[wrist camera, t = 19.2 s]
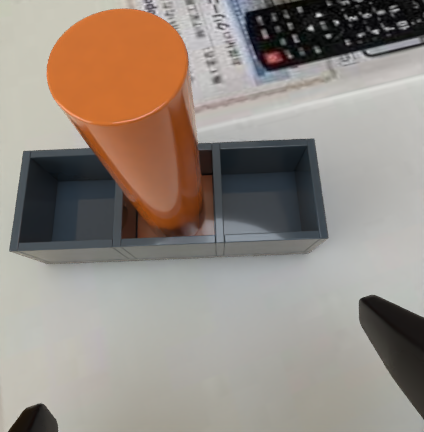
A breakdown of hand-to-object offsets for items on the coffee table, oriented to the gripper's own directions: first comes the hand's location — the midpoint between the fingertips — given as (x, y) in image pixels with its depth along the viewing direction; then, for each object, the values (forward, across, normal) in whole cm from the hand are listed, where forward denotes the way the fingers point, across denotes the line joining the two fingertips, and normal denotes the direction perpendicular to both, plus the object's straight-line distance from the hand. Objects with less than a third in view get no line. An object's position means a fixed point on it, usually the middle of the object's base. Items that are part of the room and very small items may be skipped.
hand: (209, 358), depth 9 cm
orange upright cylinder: (+13, 0, +2) cm, 13 cm away
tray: (+14, 0, +2) cm, 14 cm away
